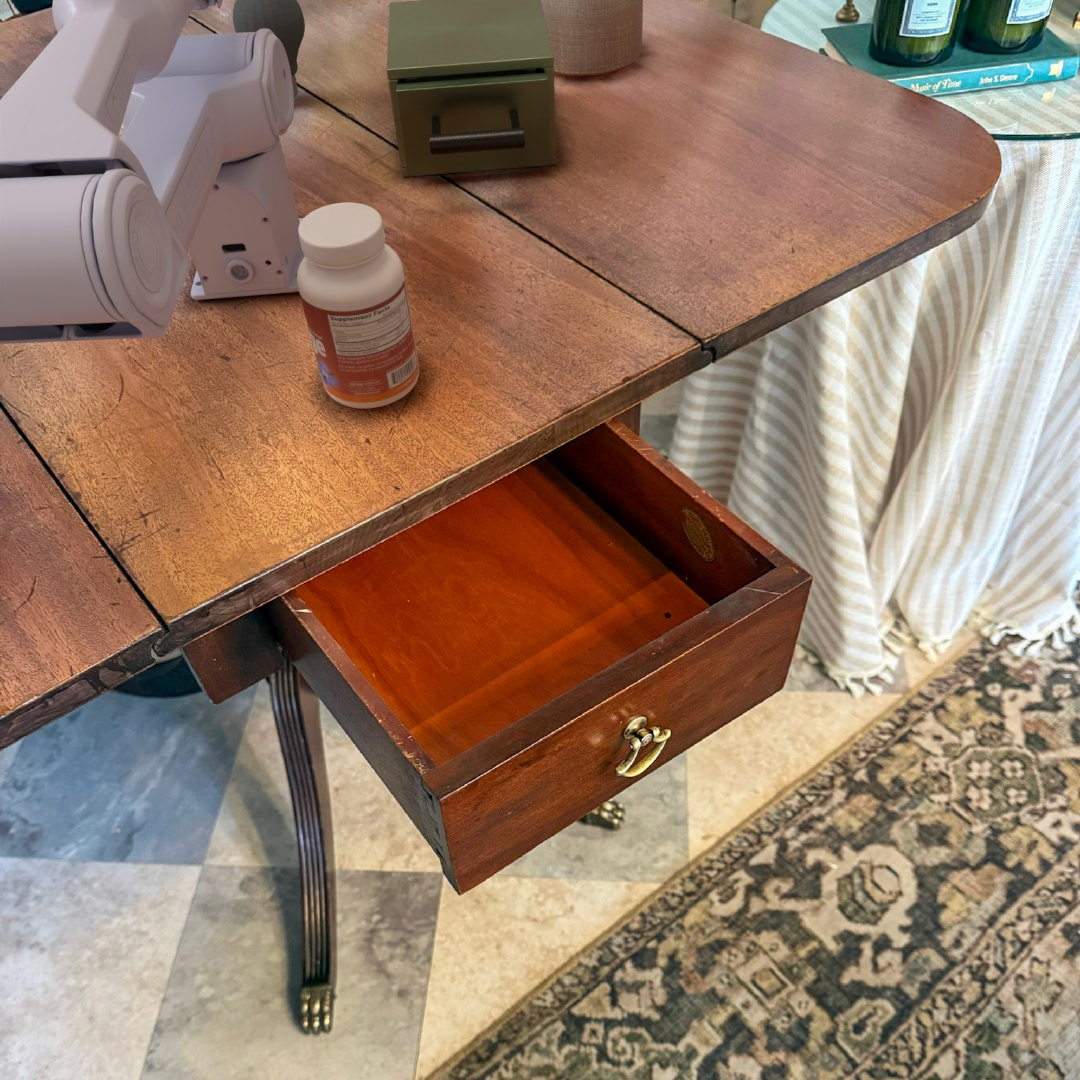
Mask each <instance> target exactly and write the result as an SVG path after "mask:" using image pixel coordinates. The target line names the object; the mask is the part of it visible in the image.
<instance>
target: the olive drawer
mask: <svg viewBox="0 0 1080 1080" xmlns="http://www.w3.org/2000/svg"><path fill="white" fill-rule="evenodd" d="M396 95H397V102H398V109H399V116H400V123H401V130H402V136H403V143H404V150H405V157H406V164H407V171H408V176H410V177H420V176H419V175H423V176H433V175H432V174H435V175H446V174H445V173H448V174H457V172H461V173H471V172H470V171H473V172H484V171H483V170H486V171H495V169H499V170H509V169H508V168H511V169H520V168H521V167H524V168H534V167H533V166H536V167H547V166H546V165H549V166H552V165H551V152H550V122H549V92H548V77H547V73H538V74H536V69H524V70H511V71H498V72H485V73H472V74H459V75H446V76H433V77H420V78H407V79H406V84H396Z"/></svg>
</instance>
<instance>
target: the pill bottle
mask: <svg viewBox="0 0 1080 1080" xmlns="http://www.w3.org/2000/svg"><path fill="white" fill-rule="evenodd" d="M302 218H303V220H302V221H301V222H300V224H299V228H298V233H299V238H300V243H301V248H302V251H303V253H304V256H305V257H304V258H303V260H302V261H301V263H300V266H299V268H298V272H297V284H298V289H299V292H298V294H299V298H300V301H301V305H302V309H303V313H304V317H305V321H306V325H307V328H308V332H309V336H310V341H311V345H312V348H313V351H314V357H315V361H316V363H317V366H318V368H317V369H318V371H319V377H320V380H321V383H322V385H323V386H322V387H323V388H324V390H325V391H326V393H327V395H328V396H329V397H330V398H331V399H333V400H334V401H335V402H337V403H339V404H341V405H344V406H346V407H349V408H354V409H360V410H361V409H362V410H363V409H364V410H366V409H375V408H380V407H384V406H388V405H390V404H392V403H395V402H397V401H399V400H400V399H403V398H404V397H405V396H406V395H408V394H409V393H411V391H412V390H413V389H414V387H415V386H416V385H417V382H418V379H419V376H420V365H419V364H420V363H419V356H418V351H417V345H416V337H415V332H414V327H413V321H412V313H411V309H410V301H409V295H408V290H407V289H408V288H407V283H406V276H405V271H404V266H403V263H402V260H401V258H400V256H399V255H398V254H397V252H396V251H395V250H394V249H393V248H392V247H390V245H388V244H387V243H386V233H385V229H384V223H383V218H382V216H381V214H380V213H379V212H378V211H377V210H376V209H375V208H373V207H372V206H370V205H367V204H364V203H359V202H346V201H345V202H336V203H331V204H328V205H323V206H321V207H319V208H316V209H314V210H312V211H310V212H309V213H308V214H307V215H305V216H304V217H302Z"/></svg>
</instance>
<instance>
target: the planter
mask: <svg viewBox="0 0 1080 1080" xmlns="http://www.w3.org/2000/svg"><path fill="white" fill-rule="evenodd" d="M540 1H541V5H542V9H543V14H544V18H545V22H546V27H547V31H548V36H549V40H550V44H551V49H552V53H553V57H554V76H555V75H556V76H560V77H566V78H575V79H577V78H579V79H589V78H599V77H605V76H608V75H613V74H616V73H618V72H620V71H622V70H624V69H626V68H628V67H630V66H631V65H632V64H633V63H634V62H635V61H637V59H639V58H640V55H641V54H642V49H643V48H642V47H643V29H644V27H643V26H644V25H643V21H644V19H643V18H644V0H540Z"/></svg>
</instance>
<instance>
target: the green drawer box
mask: <svg viewBox="0 0 1080 1080" xmlns="http://www.w3.org/2000/svg"><path fill="white" fill-rule="evenodd" d="M388 6H389V7H388V26H387V27H388V28H387V48H386V49H387V50H386V52H387V53H386V76H387V81H388V89H389V96H390V101H391V103H390V104H391V109H392V116H393V123H394V129H395V137H396V143H397V150H398V155H399V156H398V157H399V163H400V169H401V176H402V177H403V178H409V177H411V176H408V171H407V164H406V157H405V150H404V143H403V136H402V130H401V123H400V116H399V109H398V102H397V95H396V84H406V79H407V78H420V77H433V76H446V75H459V74H472V73H485V72H498V71H511V70H524V69H536V74H538V73H547V77H548V92H549V122H550V152H551V165H546V166H545V167H549V166H557V163H558V161H557V160H558V159H557V128H556V95H555V93H556V92H555V74H554V57H553V53H552V49H551V44H550V40H549V36H548V31H547V27H546V22H545V18H544V14H543V9H542V5H541V1H540V0H407V1H406V0H405V1H391V2H389V5H388ZM534 167H537V166H533V167H532V168H534ZM521 168H522V169H523V168H525V167H521ZM509 169H512V168H508V169H507V170H509ZM495 170H496V171H497V170H500V169H495ZM495 170H494V171H495ZM485 171H487V170H483V171H482V172H485ZM471 172H474V171H470V172H469V173H471ZM457 173H460V174H461V173H462V172H457ZM457 173H456V174H457ZM447 174H449V173H445V174H444V175H447ZM434 175H436V174H432V175H431V176H434ZM422 176H424V175H419V176H418V177H422Z"/></svg>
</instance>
